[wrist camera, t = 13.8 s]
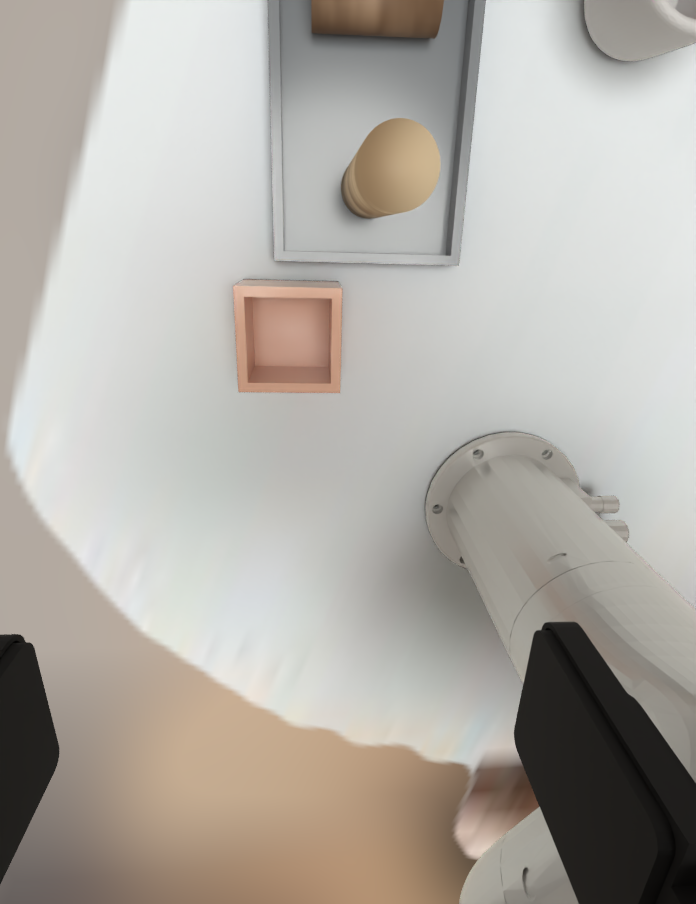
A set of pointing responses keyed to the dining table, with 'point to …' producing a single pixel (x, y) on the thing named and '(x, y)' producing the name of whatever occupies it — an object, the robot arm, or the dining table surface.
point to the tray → (367, 132)
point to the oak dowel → (391, 170)
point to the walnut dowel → (377, 17)
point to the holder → (288, 335)
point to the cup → (640, 26)
